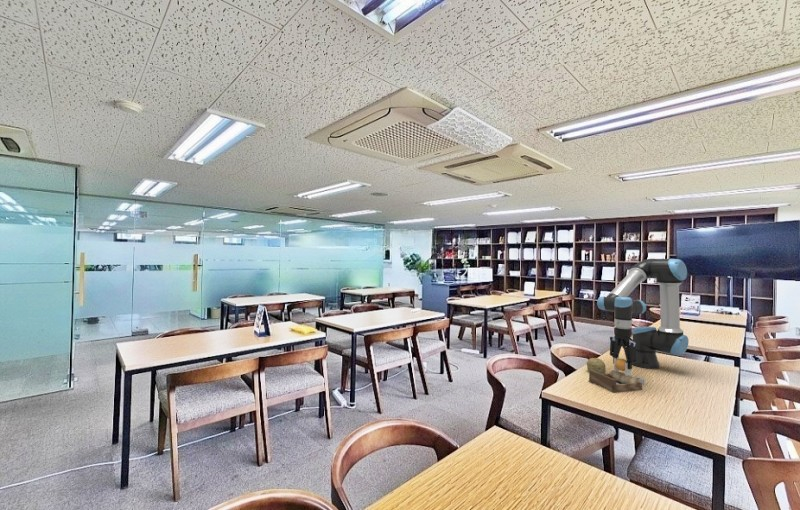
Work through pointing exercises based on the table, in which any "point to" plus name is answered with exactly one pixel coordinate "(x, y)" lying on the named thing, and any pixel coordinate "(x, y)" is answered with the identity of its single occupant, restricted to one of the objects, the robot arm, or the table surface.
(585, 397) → the table surface
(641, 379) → the grey square frame
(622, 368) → the ball
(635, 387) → the brown wooden tray
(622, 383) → the mat
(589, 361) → the decorative item
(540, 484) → the table surface
